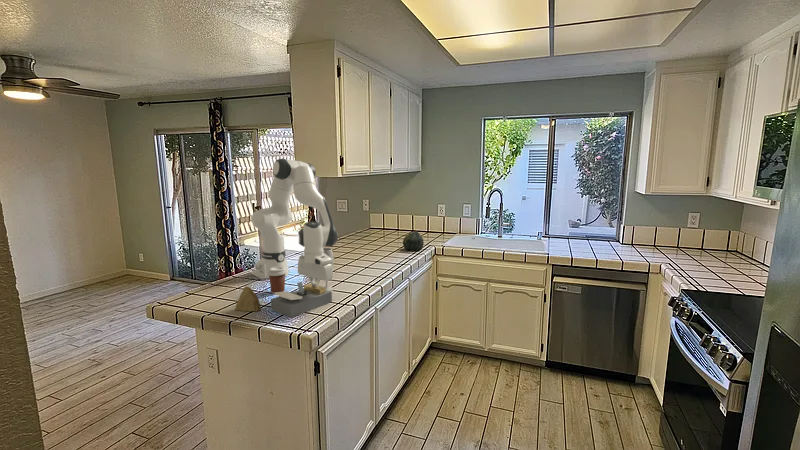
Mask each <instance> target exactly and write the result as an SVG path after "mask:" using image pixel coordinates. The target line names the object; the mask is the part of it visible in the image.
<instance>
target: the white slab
mask: <svg viewBox="0 0 800 450" xmlns="http://www.w3.org/2000/svg"><path fill="white" fill-rule="evenodd" d="M274 296H277V297H279V296H280V297H283V298H287V299H290V300H296V299H302V296H299V295H296V294H292V293H291V292H288V291H285V292H275V294H274Z"/></svg>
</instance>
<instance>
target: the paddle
mask: <svg viewBox="0 0 800 450" xmlns="http://www.w3.org/2000/svg"><path fill="white" fill-rule="evenodd" d="M296 284H297V289H298V290H299V292H300V293H301V295H304V294H305V292H304V290H303V288H304V285H303V282H302V281H299V282H297V283H296Z"/></svg>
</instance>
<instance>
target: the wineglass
mask: <svg viewBox="0 0 800 450" xmlns="http://www.w3.org/2000/svg"><path fill="white" fill-rule="evenodd" d="M323 250H324V253H325V254H326V255H327V256H329V257H330V258H332V262H331V265H332V268H333V267H334V263H335V262H334V261H335V260H334V254H333V249H332V248H330V247H325V248H324V247H323ZM324 288H326V290H327V291H331V292H333V291H334V290H335V288H334V287H331V286H328V281H325V286H324Z"/></svg>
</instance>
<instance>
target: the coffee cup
mask: <svg viewBox="0 0 800 450" xmlns="http://www.w3.org/2000/svg"><path fill="white" fill-rule="evenodd" d="M285 274H286V270H284V268H283V267H273V268H270V271H269V272H268V275H269V278H268V279H269V286H270V292H271V294H274V295H275V292H286V291H285V288H286V286H285V285H286V276H285Z"/></svg>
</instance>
